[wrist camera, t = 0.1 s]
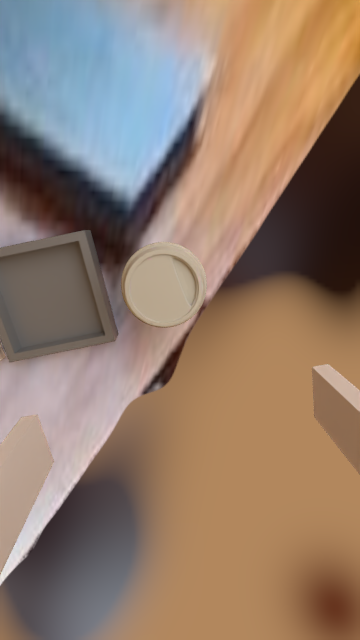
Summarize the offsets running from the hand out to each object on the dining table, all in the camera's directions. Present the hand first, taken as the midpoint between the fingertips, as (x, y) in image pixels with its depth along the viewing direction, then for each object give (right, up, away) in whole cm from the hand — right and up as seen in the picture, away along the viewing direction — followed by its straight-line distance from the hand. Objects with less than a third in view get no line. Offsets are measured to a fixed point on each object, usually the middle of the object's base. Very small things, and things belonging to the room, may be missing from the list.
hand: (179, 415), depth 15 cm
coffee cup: (-2, +11, +26) cm, 28 cm away
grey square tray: (-17, +8, +26) cm, 32 cm away
